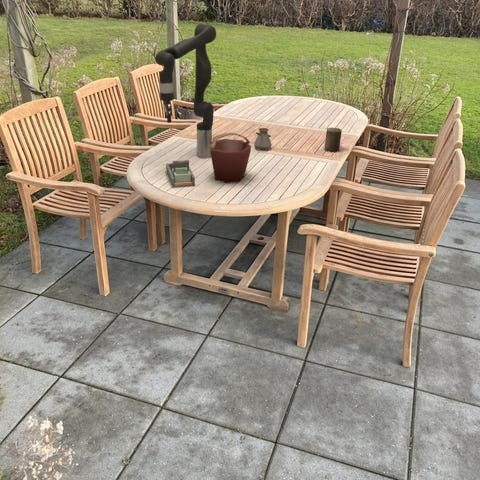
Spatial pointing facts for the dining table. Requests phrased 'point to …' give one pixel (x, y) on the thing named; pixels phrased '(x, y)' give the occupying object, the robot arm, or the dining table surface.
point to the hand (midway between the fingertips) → (168, 120)
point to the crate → (181, 172)
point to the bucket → (229, 158)
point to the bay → (172, 180)
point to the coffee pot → (262, 140)
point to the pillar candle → (333, 139)
